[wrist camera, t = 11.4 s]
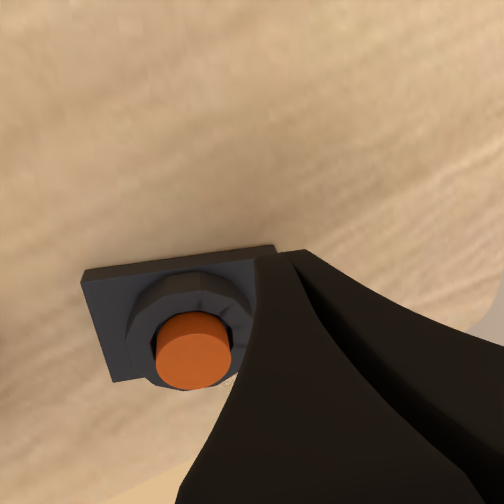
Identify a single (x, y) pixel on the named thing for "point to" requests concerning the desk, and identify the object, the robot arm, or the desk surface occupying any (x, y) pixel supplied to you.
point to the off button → (192, 351)
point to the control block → (170, 306)
